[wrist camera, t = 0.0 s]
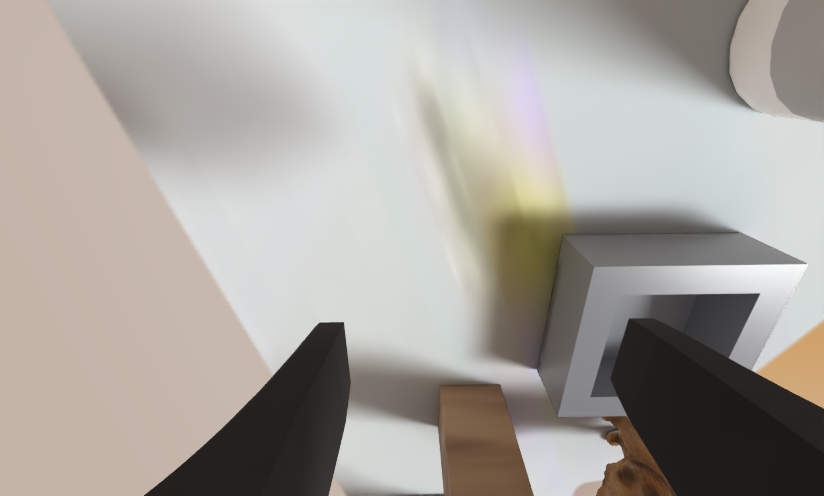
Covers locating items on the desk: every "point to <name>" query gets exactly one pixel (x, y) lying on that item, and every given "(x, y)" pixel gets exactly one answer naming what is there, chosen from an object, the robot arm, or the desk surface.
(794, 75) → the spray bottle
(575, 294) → the square well
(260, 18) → the desk surface
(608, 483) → the lion figurine
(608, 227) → the desk surface
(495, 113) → the desk surface
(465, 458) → the walnut block
